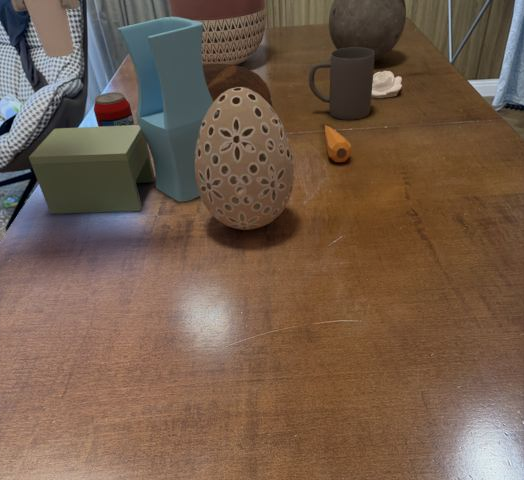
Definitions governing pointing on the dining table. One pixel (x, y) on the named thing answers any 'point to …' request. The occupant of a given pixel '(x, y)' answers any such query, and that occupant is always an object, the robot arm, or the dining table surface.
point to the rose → (385, 84)
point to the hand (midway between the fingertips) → (47, 9)
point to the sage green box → (92, 169)
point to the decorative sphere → (367, 24)
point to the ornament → (243, 161)
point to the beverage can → (112, 110)
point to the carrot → (337, 145)
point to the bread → (233, 80)
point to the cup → (51, 26)
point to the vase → (170, 97)
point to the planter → (225, 27)
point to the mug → (348, 82)
